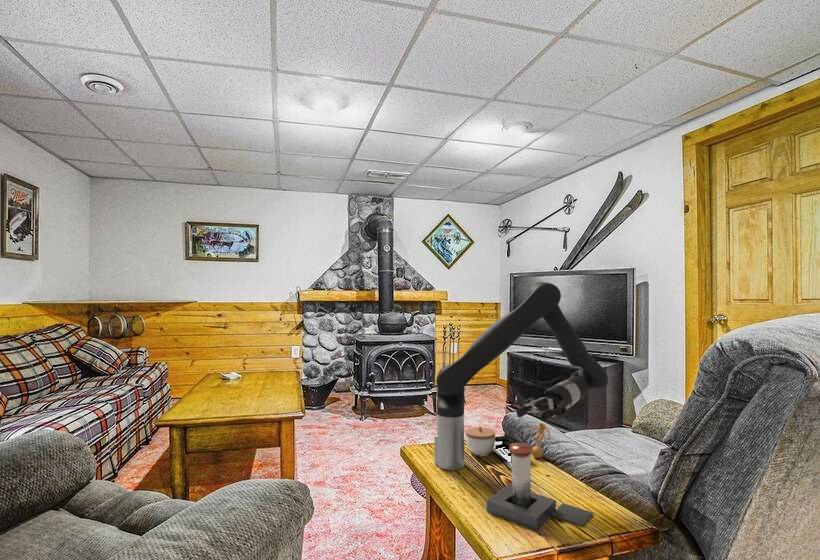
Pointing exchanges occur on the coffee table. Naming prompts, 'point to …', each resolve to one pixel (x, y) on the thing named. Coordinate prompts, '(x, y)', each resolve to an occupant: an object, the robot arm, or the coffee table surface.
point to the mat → (572, 514)
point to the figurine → (537, 449)
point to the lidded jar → (480, 440)
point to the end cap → (506, 441)
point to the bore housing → (521, 508)
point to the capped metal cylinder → (521, 474)
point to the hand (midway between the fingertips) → (529, 416)
